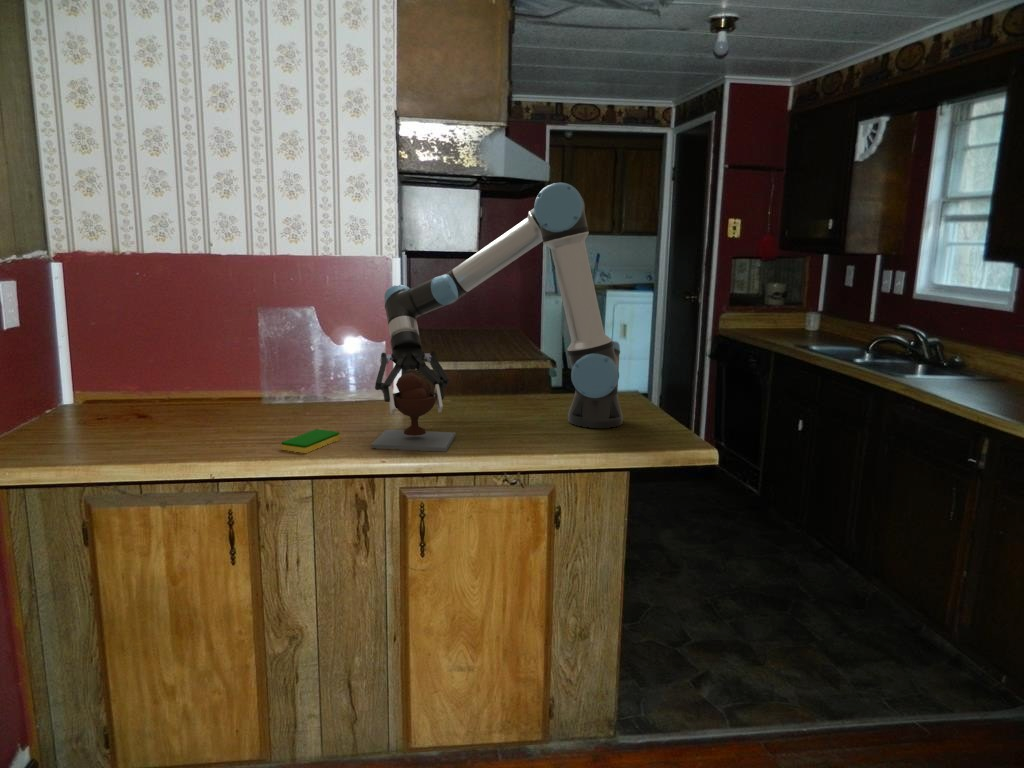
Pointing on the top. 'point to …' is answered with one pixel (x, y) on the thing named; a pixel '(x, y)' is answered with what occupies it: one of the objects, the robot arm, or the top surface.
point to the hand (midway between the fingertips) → (417, 410)
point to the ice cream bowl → (413, 400)
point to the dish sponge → (310, 441)
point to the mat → (414, 441)
